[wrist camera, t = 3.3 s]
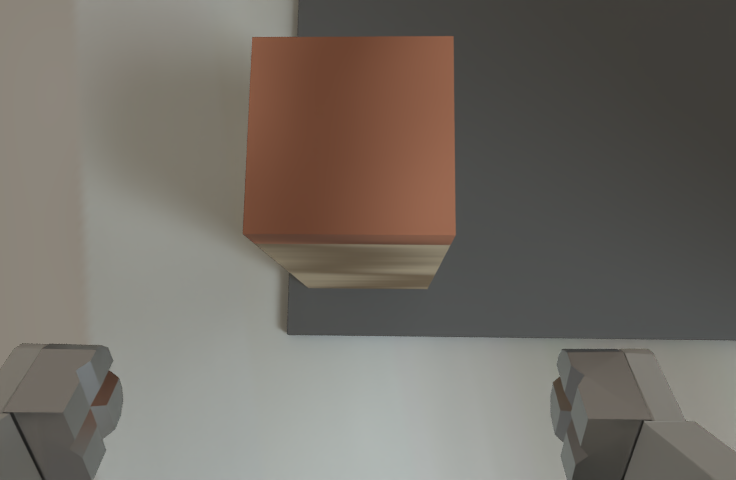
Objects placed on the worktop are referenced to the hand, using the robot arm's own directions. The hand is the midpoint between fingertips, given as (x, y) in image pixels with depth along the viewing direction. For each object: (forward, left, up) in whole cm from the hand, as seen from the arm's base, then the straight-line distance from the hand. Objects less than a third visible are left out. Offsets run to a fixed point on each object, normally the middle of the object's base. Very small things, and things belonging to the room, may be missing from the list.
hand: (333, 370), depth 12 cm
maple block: (0, -5, -12) cm, 13 cm away
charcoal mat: (-8, -12, -13) cm, 19 cm away
